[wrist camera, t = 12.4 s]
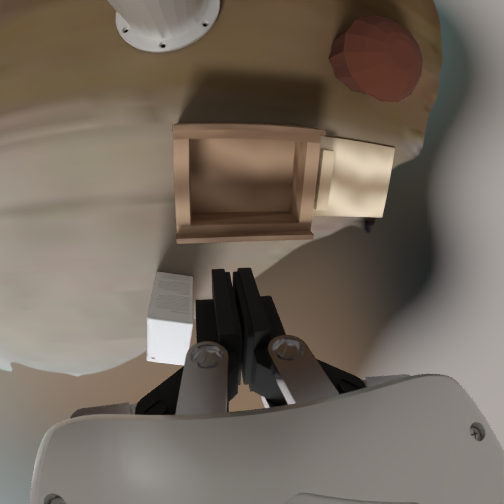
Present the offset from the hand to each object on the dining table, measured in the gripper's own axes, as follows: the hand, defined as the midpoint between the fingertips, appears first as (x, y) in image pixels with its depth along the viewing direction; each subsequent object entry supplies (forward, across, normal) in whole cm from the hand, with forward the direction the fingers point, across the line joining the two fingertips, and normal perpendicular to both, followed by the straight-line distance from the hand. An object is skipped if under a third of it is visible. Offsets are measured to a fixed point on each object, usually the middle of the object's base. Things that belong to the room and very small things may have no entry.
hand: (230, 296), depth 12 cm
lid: (+26, -19, 0) cm, 32 cm away
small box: (+25, +6, +18) cm, 32 cm away
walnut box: (+25, -4, 0) cm, 25 cm away
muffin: (+25, -19, -17) cm, 36 cm away
